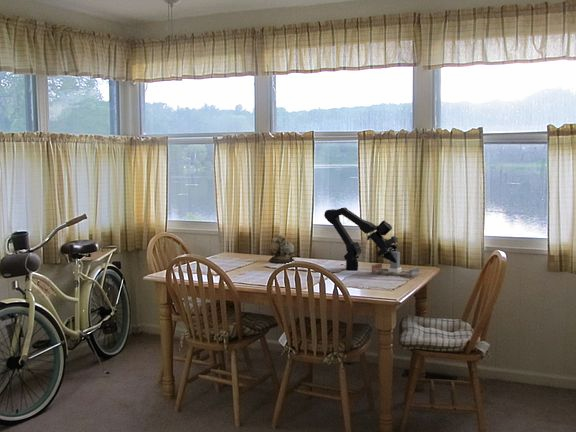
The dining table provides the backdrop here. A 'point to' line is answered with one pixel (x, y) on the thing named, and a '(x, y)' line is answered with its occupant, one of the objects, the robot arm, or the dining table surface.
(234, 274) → the dining table surface
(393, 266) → the carriage
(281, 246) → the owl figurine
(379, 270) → the track
